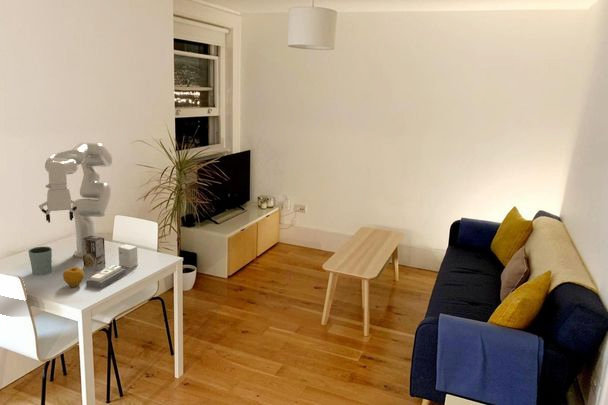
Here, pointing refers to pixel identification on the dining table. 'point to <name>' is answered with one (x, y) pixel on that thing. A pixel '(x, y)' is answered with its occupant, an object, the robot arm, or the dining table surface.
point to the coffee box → (93, 252)
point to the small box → (128, 256)
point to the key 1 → (98, 277)
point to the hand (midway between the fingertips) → (60, 220)
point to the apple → (73, 276)
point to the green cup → (41, 260)
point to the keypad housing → (106, 279)
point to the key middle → (107, 272)
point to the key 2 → (114, 268)
